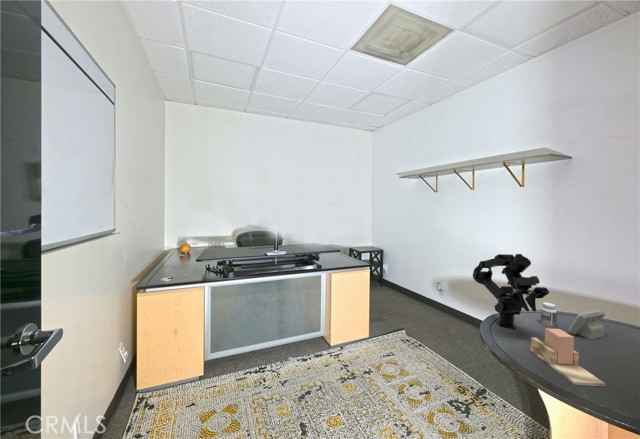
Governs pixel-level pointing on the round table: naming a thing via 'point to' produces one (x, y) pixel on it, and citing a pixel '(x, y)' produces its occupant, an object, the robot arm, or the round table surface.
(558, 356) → the block
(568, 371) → the chute
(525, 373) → the round table surface
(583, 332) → the digital clock
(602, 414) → the round table surface
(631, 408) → the round table surface
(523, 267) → the robot arm
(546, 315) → the pill bottle
